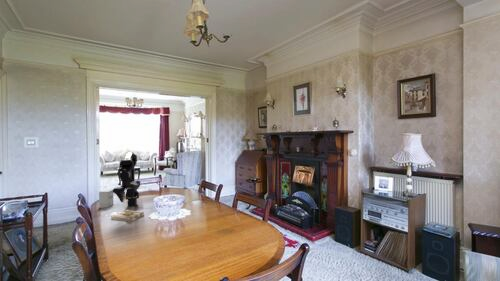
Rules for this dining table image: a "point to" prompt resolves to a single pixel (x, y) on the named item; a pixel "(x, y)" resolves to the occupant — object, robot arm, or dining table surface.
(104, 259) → the dining table surface
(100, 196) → the supplement box
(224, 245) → the dining table surface
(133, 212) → the hole deck
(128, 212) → the gold cylinder
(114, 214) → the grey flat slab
